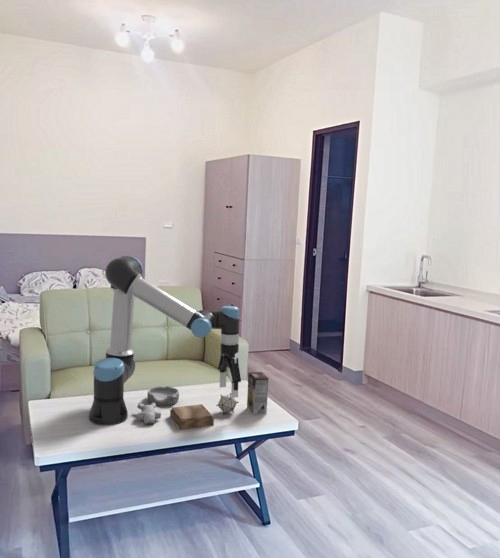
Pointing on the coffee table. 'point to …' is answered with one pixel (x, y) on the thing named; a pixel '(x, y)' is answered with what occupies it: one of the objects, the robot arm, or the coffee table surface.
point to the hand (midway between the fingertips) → (228, 392)
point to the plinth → (191, 416)
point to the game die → (227, 403)
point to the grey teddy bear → (148, 413)
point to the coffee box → (257, 393)
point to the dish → (163, 395)
